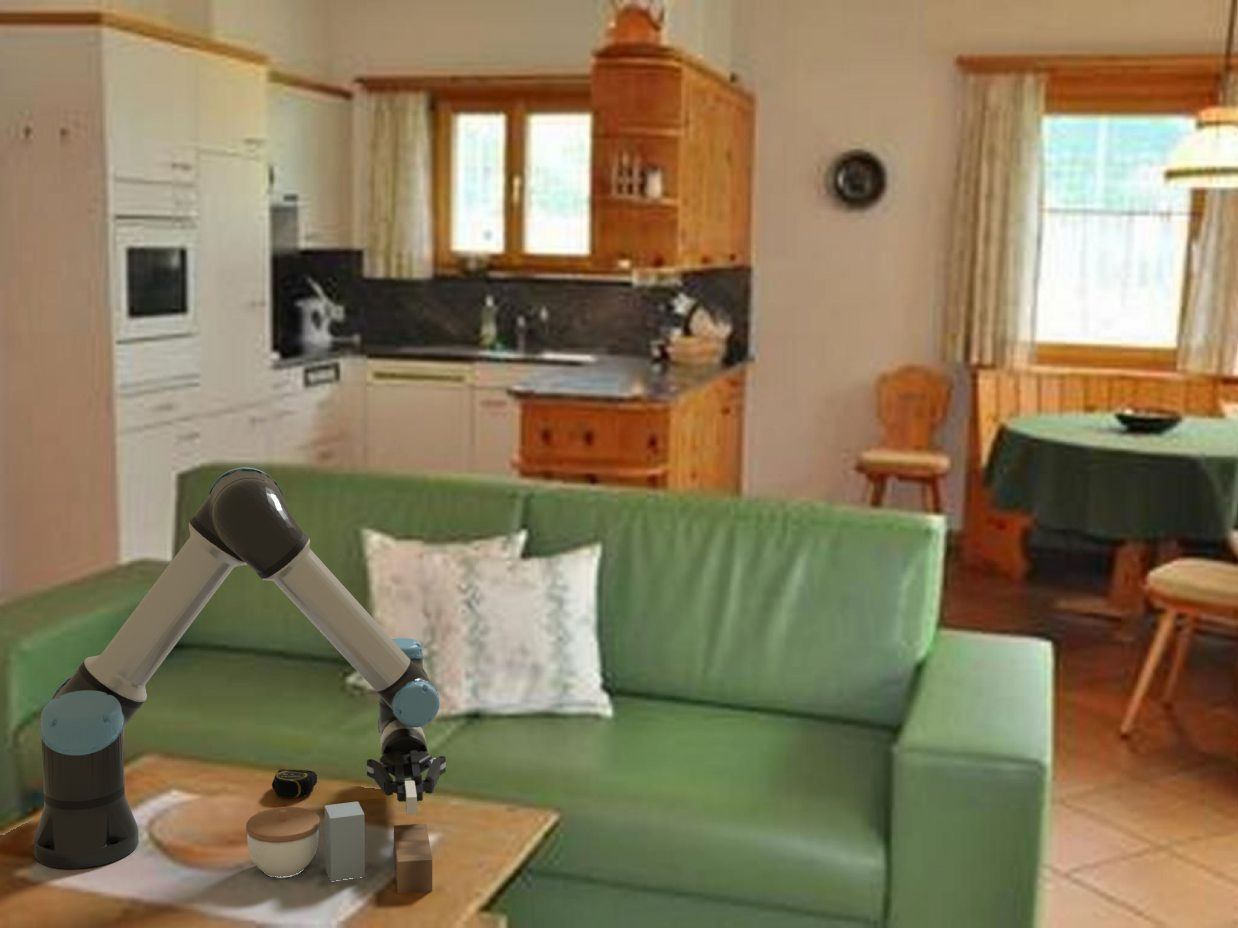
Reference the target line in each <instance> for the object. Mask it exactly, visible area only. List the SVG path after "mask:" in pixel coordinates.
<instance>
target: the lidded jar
mask: <svg viewBox="0 0 1238 928" xmlns="http://www.w3.org/2000/svg"><path fill="white" fill-rule="evenodd" d="M320 825H321V824H320V817H319V815H318V813H316V812H314V811H313V810H311V809H308V808H303V807H296V806H283V807H282V806H280V807H275V808H274V807H273V808H269V809H266V810H265V809H264V810H262V811H260V812H259V811H258V812H256V813H255V814H253V815H252V816H250V818H248V819H247V821H246V826H245V830H246V835H247V836H246V838H247V847H248V852H249V855H250V858H251V860H252V862H253V864H254V865H255V866H256V867H257V868H258V869H259V870H260V871H261V872H265V874H267V875H268V876H272V877H275V876H276V877H277V876H278V877H280V876H281V877H283V876H290V875H294V874H296V873H299V872H300V871H302V870H303V869H304V868H306V867H308V865H310V863H312V861H313V859H314V857H315V855H316V852H317V849H318V845H319V838H320V837H319V836H320ZM304 870H305V869H304ZM265 874H264V875H265ZM268 876H267V877H268Z"/></svg>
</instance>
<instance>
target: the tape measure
mask: <svg viewBox="0 0 1238 928" xmlns="http://www.w3.org/2000/svg"><path fill="white" fill-rule="evenodd" d="M317 783H318V775H317V773H316V771H313V770H309V769H307V770H306V769H284V768H283V769H281V768H280V769H279V770H278V771H277V773H276V774H275V776H274V778H273V780H272V782H271V788H272V790H273V791H274V793H275V795H277V796H278V797H281V798H286V799H299V798H303V797H307V796H308V795H310V794H312V793H313V791H314V787H315V786H316V784H317Z"/></svg>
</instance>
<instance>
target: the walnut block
mask: <svg viewBox="0 0 1238 928" xmlns="http://www.w3.org/2000/svg"><path fill="white" fill-rule="evenodd" d="M430 842H431V841H430V838H429V832H428V826H427V823H413V824H411V823H410V824H399V825H398V824H396V825H393V860H394V869H395V870H396V871H395V881H396V888H397V894H409V893H424V892H425V893H426V892H433V856H432V850H431V849H432V848H431V844H430Z"/></svg>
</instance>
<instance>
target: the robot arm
mask: <svg viewBox="0 0 1238 928" xmlns="http://www.w3.org/2000/svg"><path fill="white" fill-rule="evenodd" d="M188 529H189V534H190V535H189V538H188V539H187V540H186V541H185V543H184V544H183V546H182V547H181V548H180V549H179V551H178V552H177V553H176V555H175V556H174V558H173V559H172V560H171V561H170V563H169V564H168V565H167V566H166V568H165V570H163V572H161V573H162V574H161V575H160V576H159V577H158V579H157V580H156V581H155V582H154V584H153V585H152V587H150V588H149V590H148V592H147V593H146V594H145V596H144V597H143V598H142V600H141V601H140V602H139V603H138V605H137V606H136V608H135V609H134V610H133V612H132V613H131V614H130V615H129V616H128V618H127V619H126V621H125V622H124V623H123V624H122V626H121V627H120V629H119V630H118V631H117V632H116V634H115V635H114V637H113V638H112V640H110V641H109V643H108V645H107V646H106V647H105V649H104V650H103V651H102V652H101V654H98V655H94V656H93V655H92V656H88V657H86V658H85V659H84V660H83V662H81V664H80V666H78V668H77V669H76V671H75V672H74V673H73V675H71V676H70V677H68V678H67V679H65V680H64V682H62V683H61V684H60V685H59V686H58V687H57V689H56V690H55V692H54V694H53V696H52V697H51V698H50V699H51V700H50V701H49V702H48V703H46V705H45V706H44V707H43V709H42V711H41V714H40V722H39V734H40V735H39V736H40V737H41V738H40V739H41V753H42V754H41V756H42V758H41V760H42V779H43V804H44V805H43V809H42V811H41V815H40V817H39V822H38V825H37V828H36V831H35V835H34V838H33V856H34V858H35V860H37V862H39V863H40V864H42V865H45V866H48V867H51V868H57V869H66V870H67V869H69V870H70V869H72V870H73V869H75V870H76V869H86V868H93V867H97V866H98V867H99V866H102V865H106V864H110V863H113V862H116V861H119V860H120V859H122V858H124V857H126V856H128V855H130V854H131V853H133V852H134V850H135V849H136V848H137V847H138V845H139V829H138V828H139V827H138V824H137V821H136V819H135V816H134V814H133V811H132V810H131V807H130V804H129V802H128V800H127V799H128V798H127V797H126V789H125V787H126V786H125V760H124V759H125V758H124V756H125V755H124V742H125V740H124V739H125V728H126V727H127V725H128V724H129V723H130V721H131V720H132V718H133V717H134V716H135V715H136V714H137V712H138V711H139V709H140V708H141V706H143V704H144V703H145V701H146V700H147V698H148V695H147V691H146V685H147V683H148V682H149V680H150V679H151V678H152V676H153V675H154V674H155V673H156V672H157V670H158V669H159V667H160V666H161V665H162V663H163V662H164V661H165V659H166V658H167V656H168V655H169V654H170V653H171V652H172V650H173V649H174V647H175V646H177V644H178V642H179V641H180V640H181V638H183V635H184V634H185V632H186V631H187V630H188V629H189V628H190V626H191V625H192V624H193V623H194V621H195V620H196V618H197V617H198V615H199V614H201V611H203V609H204V608H205V607H206V605H207V604H208V602H209V601H210V600H211V599H212V598H213V596H214V594H216V592H217V591H218V589H219V588H220V587H221V586H222V584H223V583H224V581H225V580H226V579H227V577H228V576H229V575H230V574H231V572H232V571H233V569H234V568H236V567H242V566H249V568H251V569H252V571H254V572H255V573H256V574H257V576H258V577H259V578H260V579H261V580H262V581H269V582H270V581H272V582H273V583H274V584H275V585H276V586H277V587H278V588H279V589H280V590H281V591H282V593H283V594H285V596H286V597H287V598H288V599H289V600H290V601H291V602H292V603H293V605H295V606H296V608H297V609H298V610H299V611H300V612H301V613H302V614H303V615H304V616H305V617H306V618H307V619H308V621H310V623H311V624H312V625H313V626H314V627H315V628H316V629H317V631H319V632H320V633H321V634H322V635H323V636H324V638H325V639H326V640H327V641H329V642H330V644H331V645H332V646H333V647H334V648H335V650H337V652H338V653H340V654H341V655H342V656H343V657H344V659H345V660H346V661H347V662H348V663H349V664H350V665H351V667H352V668H354V669H355V671H357V672H358V674H359V675H360V676H361V677H362V678H363V679H364V680H365V682H367V683H368V684H369V685H370V687H372V689H373V690H375V692H376V694H377V695H378V696H379V699H378V719H377V722H378V726H377V727H378V728H377V729H378V733H379V736H380V740H379V741H380V751H381V752H380V753H381V756H380V758H379V760H376V759H372V758H369V759H367V760H366V776H367V777H369V778H371V779H372V780H374V782H375V783H376V784H377V786H378V787H379V788H380V789H381V791H382V792H383V794H384V795H386V796H387V797H389V796H393V795H394V794H396V800H397V802H399V803H403V802H404V803H405V810H406V815H417V814H418V802H421V801H422V802H423V800H424V793H425V794H432V793H434V791H435V789H436V785H437V783H438V781H439V779H440V777H441V775H443V774H444V773H446V770H447V769H446V765H447V764H446V763H447V762H446V761H447V759H446V758H447V757H446V756H445V755H440V756H438V757H433V756H432V755H431V754H430V753H429V752H428V745H427V740H426V734H425V730H424V726H426V725H428V724H430V723H431V722H432V721H433V720H434V719H435V717H436V716H437V715H438V713H439V710H440V706H441V705H440V703H441V702H440V697H439V692H438V690H437V688H436V687H435V686H434V684H433V683H432V682H431V680H430V678H429V676H428V674H427V673H426V670H425V669H424V663H423V662H424V661H423V660H424V656H423V646H422V644H421V642H420V641H418V640H416V639H413V638H409V637H398V638H397V637H395V638H391V636H390V635H388V633H387V632H386V631H385V630H384V629H383V627H381V626H380V624H379V623H378V622H377V621H376V620H375V618H374V617H372V615H370V613H369V612H368V611H367V610H366V609H365V608H364V607H363V605H361V603H360V602H359V601H358V600H357V598H355V597H354V596H353V595H352V594H351V592H350V591H349V590H348V589H347V588H346V587H345V586H344V585H343V583H341V582H340V580H339V578H337V577H336V576H335V575H334V574H333V572H332V571H331V570H330V569H329V568H328V566H327V565H325V564H324V563H323V561H322V560H321V559H320V558H319V557H318V556H317V554H315V552H313V550H312V549H311V548H310V547H311V546H310V544H311V539H310V537H309V536H308V535H307V534H306V533H305V532H304V531H303V529H302V528H301V526H299V524H298V523H297V522H296V520H295V518H294V516H293V515H292V513H291V511H290V510H289V508H288V505H287V503H286V501H285V498H284V494H283V491H282V488H281V486H280V485H279V484H278V482H277V481H276V480H275V479H274V478H272V477H271V475H270V474H268V473H266V472H265V471H262V470H260V469H258V468H255V467H245V466H243V467H235V468H233V469H230V470H228V471H226V472H225V473H223V474H221V475H219V477H218V478H217V479H216V480H215V481H214V482H213V483H212V485H211V487H210V490H209V492H208V497H207V498H206V500H205V501H204V502H203V504H202V505H201V506H200V508H199V509H198V510H197V511H196V513H195V514H194V515H193V517H192V518H191V519H190V521H189V522H188ZM427 770H428V771H427ZM425 771H427V773H426V775H425V777H424V779H422V778H423V777H422V774H423V772H425ZM393 777H394V778H393ZM406 779H411V780H406Z"/></svg>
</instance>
